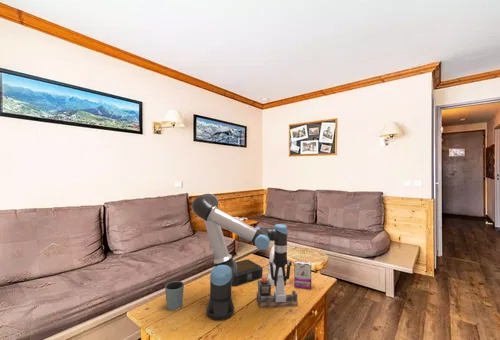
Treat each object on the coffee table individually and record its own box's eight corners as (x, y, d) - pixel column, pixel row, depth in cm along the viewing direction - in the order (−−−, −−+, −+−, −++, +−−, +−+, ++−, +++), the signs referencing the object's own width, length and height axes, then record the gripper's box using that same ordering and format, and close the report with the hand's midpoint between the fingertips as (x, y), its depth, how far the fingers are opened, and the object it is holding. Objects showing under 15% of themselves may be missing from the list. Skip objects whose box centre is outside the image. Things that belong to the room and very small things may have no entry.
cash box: (234, 287, 154) (234, 276, 154) (219, 276, 170) (220, 265, 170) (263, 278, 168) (264, 267, 168) (247, 268, 185) (248, 258, 185)
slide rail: (258, 308, 131) (259, 298, 131) (256, 300, 139) (256, 291, 139) (298, 305, 134) (298, 296, 134) (293, 298, 142) (293, 289, 142)
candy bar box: (311, 286, 157) (311, 261, 157) (311, 289, 153) (311, 264, 153) (294, 283, 160) (294, 260, 160) (293, 287, 155) (294, 262, 155)
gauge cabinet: (259, 298, 141) (259, 285, 141) (257, 293, 147) (257, 280, 147) (270, 297, 142) (270, 284, 142) (268, 292, 148) (268, 280, 148)
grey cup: (187, 304, 134) (187, 283, 134) (173, 313, 125) (173, 291, 125) (175, 299, 139) (175, 279, 139) (160, 307, 130) (161, 286, 130)
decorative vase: (282, 286, 156) (283, 249, 156) (266, 285, 158) (267, 248, 158) (283, 279, 166) (283, 244, 166) (268, 277, 168) (269, 243, 168)
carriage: (276, 302, 133) (276, 278, 133) (273, 297, 139) (273, 274, 139) (286, 302, 134) (286, 278, 134) (283, 296, 140) (283, 273, 140)
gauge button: (262, 283, 143) (262, 278, 143) (261, 281, 146) (261, 275, 146) (267, 283, 143) (267, 278, 143) (266, 281, 147) (266, 275, 146)
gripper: (268, 253, 132) (267, 295, 132) (295, 253, 134) (295, 293, 134) (265, 249, 139) (265, 288, 139) (291, 248, 142) (291, 287, 142)
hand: (279, 290), depth 137 cm, fingers closed on carriage, 3 cm apart
